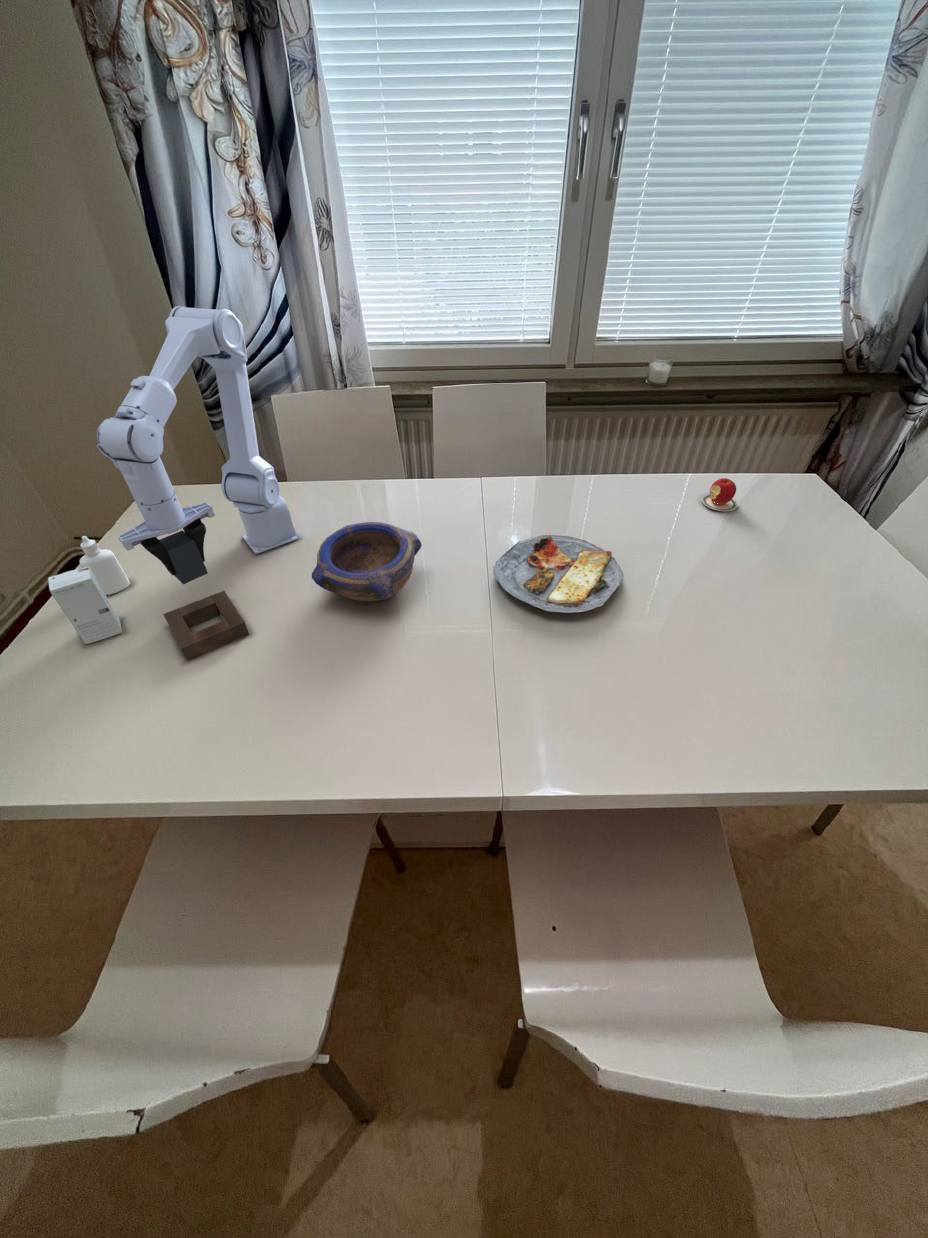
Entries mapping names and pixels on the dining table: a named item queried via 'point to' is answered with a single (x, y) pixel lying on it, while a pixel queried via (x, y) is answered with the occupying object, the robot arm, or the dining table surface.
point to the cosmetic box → (85, 604)
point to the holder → (211, 635)
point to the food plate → (559, 573)
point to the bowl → (366, 561)
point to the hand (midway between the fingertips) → (187, 565)
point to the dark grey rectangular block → (184, 557)
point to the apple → (721, 495)
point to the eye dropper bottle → (103, 567)
